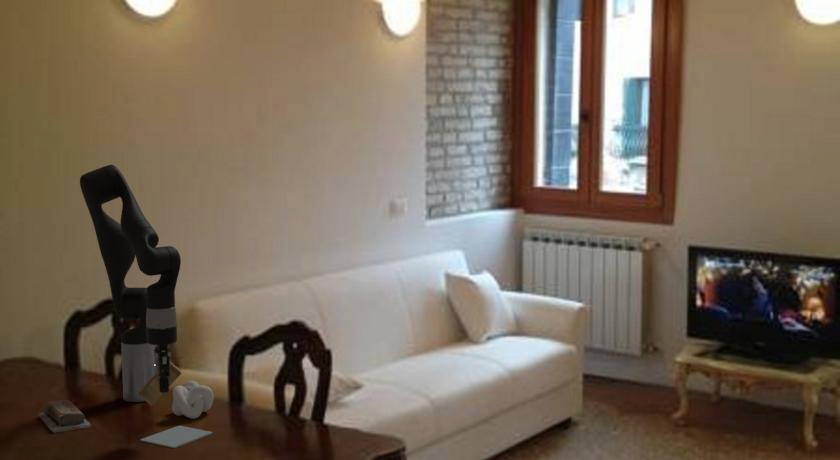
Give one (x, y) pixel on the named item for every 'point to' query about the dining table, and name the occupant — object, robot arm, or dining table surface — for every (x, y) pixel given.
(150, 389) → the oak block
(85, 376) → the dining table surface
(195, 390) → the white decorative knot
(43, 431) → the dining table surface
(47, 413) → the packaged product
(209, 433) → the felt mat
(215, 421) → the dining table surface
